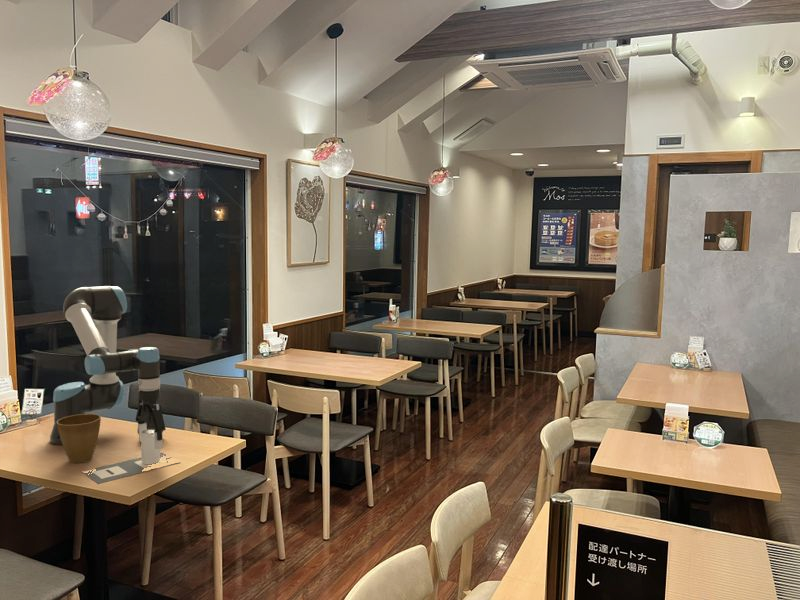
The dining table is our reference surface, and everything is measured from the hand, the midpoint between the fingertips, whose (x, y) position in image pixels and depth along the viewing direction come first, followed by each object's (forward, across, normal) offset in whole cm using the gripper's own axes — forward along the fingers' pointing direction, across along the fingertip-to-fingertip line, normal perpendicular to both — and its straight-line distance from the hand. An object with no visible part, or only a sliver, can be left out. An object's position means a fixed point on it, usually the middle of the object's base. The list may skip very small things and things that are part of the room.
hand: (150, 444), depth 234 cm
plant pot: (+7, -21, -18) cm, 29 cm away
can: (+7, 0, 0) cm, 7 cm away
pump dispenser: (+7, -27, +12) cm, 31 cm away
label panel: (+7, 0, -7) cm, 10 cm away
